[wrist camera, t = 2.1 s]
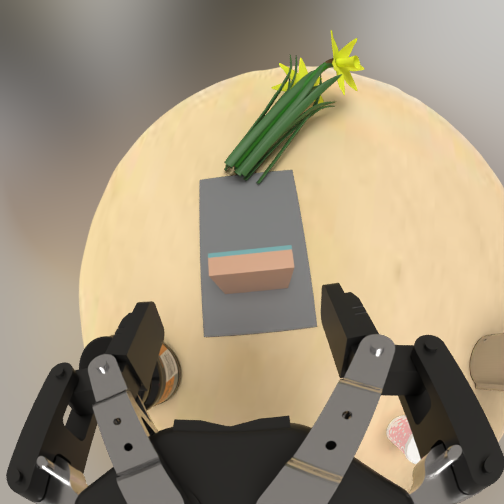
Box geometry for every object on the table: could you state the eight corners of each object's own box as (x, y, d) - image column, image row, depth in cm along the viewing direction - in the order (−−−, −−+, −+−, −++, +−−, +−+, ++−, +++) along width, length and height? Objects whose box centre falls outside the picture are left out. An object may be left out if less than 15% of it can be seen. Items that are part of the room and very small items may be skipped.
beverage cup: (379, 419, 31) (424, 447, 18) (413, 404, 32) (465, 421, 18) (383, 451, 29) (424, 485, 16) (416, 435, 30) (464, 460, 16)
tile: (288, 288, 39) (294, 267, 28) (225, 294, 39) (208, 275, 29) (285, 271, 40) (291, 244, 29) (224, 277, 40) (208, 253, 29)
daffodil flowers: (197, 154, 49) (300, 46, 48) (256, 200, 53) (348, 88, 52) (198, 134, 33) (332, 9, 32) (283, 202, 37) (391, 63, 36)
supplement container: (194, 357, 37) (163, 362, 25) (167, 415, 34) (130, 437, 23) (136, 324, 39) (92, 315, 27) (112, 380, 36) (66, 386, 25)
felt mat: (316, 326, 37) (317, 326, 37) (204, 337, 38) (204, 337, 37) (292, 171, 46) (292, 169, 45) (200, 181, 46) (199, 180, 46)
